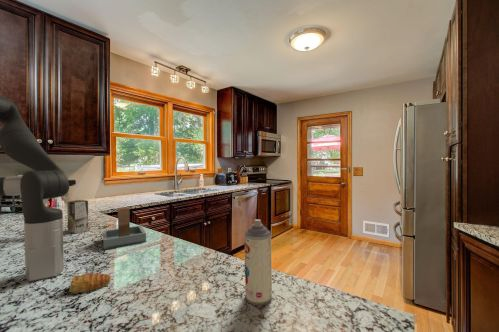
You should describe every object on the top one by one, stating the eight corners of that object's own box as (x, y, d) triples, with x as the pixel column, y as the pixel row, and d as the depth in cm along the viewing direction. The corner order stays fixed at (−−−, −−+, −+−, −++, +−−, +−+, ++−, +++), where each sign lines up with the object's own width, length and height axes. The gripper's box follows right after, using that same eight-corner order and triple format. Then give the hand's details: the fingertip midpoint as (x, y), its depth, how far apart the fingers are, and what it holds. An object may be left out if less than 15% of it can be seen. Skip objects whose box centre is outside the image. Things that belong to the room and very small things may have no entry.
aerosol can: (245, 290, 62) (244, 217, 62) (270, 289, 62) (269, 216, 62) (245, 305, 55) (243, 223, 55) (273, 305, 55) (272, 223, 55)
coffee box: (89, 230, 121) (88, 200, 121) (74, 233, 116) (74, 202, 116) (81, 228, 126) (80, 199, 126) (67, 231, 121) (66, 201, 121)
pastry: (112, 278, 70) (112, 266, 70) (108, 289, 64) (107, 276, 64) (75, 284, 66) (75, 272, 66) (67, 297, 60) (66, 283, 60)
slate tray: (146, 242, 102) (145, 233, 102) (103, 250, 93) (103, 240, 93) (140, 233, 115) (140, 225, 115) (103, 239, 106) (103, 230, 106)
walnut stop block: (130, 239, 103) (129, 208, 103) (118, 240, 101) (118, 209, 101) (129, 236, 107) (128, 206, 107) (118, 238, 105) (117, 208, 105)
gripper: (17, 176, 83) (72, 174, 92) (27, 175, 95) (76, 173, 104) (17, 196, 83) (73, 192, 92) (28, 193, 95) (76, 190, 104)
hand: (74, 182), depth 98 cm, fingers open, 8 cm apart
